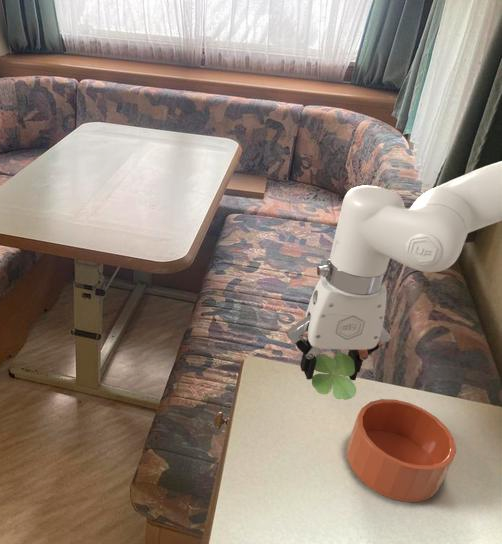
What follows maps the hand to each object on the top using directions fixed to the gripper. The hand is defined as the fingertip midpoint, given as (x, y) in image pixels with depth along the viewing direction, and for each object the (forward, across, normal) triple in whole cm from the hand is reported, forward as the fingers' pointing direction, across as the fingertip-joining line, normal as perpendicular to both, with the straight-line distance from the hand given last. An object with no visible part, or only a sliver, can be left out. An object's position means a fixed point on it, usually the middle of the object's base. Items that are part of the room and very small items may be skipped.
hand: (328, 373), depth 89 cm
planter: (+10, +9, -9) cm, 16 cm away
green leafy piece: (+2, +1, -1) cm, 3 cm away
